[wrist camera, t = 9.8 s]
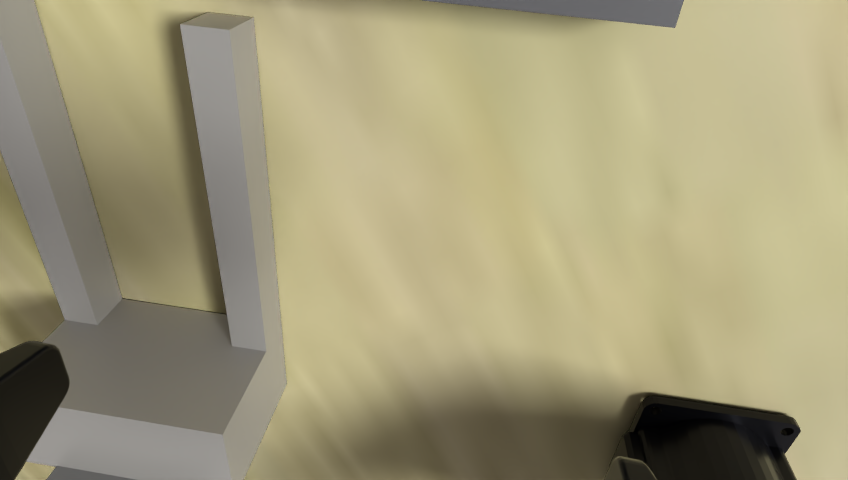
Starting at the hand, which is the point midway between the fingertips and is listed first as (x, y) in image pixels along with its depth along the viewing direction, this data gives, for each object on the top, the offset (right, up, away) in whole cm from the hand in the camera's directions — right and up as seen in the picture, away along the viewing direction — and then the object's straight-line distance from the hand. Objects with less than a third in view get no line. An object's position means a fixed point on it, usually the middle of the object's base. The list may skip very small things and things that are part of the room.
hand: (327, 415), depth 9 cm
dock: (-9, +3, +14) cm, 17 cm away
